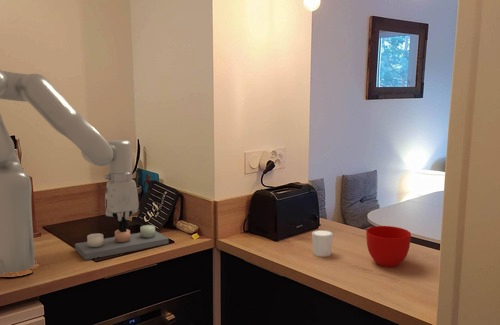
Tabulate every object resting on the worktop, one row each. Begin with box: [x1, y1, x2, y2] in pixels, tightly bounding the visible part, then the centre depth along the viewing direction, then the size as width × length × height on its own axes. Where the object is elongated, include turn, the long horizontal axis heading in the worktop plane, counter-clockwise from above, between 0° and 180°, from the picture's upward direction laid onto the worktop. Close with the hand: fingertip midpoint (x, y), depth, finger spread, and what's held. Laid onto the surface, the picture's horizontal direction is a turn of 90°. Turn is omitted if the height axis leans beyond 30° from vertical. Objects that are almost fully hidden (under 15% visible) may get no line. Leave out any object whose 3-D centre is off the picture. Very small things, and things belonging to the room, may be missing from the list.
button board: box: [74, 230, 170, 261], centre depth 154 cm, size 28×12×2 cm, turn 125°
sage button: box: [139, 224, 156, 238], centre depth 159 cm, size 5×5×3 cm
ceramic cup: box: [365, 225, 412, 268], centre depth 141 cm, size 13×17×10 cm
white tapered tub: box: [311, 229, 334, 257], centre depth 148 cm, size 7×7×7 cm
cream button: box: [86, 232, 105, 247], centre depth 149 cm, size 5×5×3 cm
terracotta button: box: [114, 228, 131, 242], centre depth 154 cm, size 5×5×3 cm
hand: (122, 231), depth 154 cm, fingers closed
